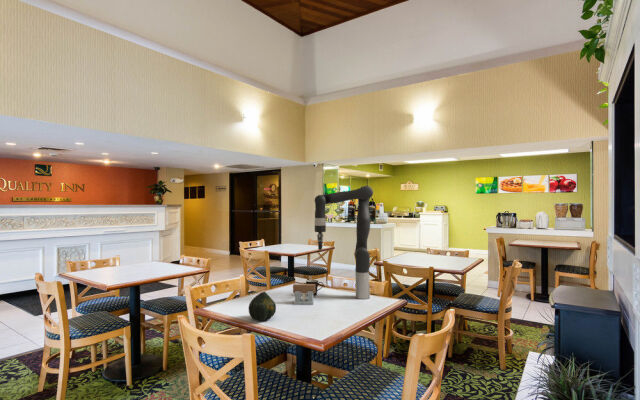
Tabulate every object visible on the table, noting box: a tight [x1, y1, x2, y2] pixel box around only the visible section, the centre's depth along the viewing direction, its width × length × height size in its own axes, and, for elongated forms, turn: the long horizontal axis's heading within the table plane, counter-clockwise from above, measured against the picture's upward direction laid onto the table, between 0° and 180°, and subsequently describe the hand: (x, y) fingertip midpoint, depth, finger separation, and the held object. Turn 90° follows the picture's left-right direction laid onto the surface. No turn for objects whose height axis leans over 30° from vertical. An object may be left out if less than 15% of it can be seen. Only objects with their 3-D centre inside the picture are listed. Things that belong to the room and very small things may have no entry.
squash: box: [248, 291, 277, 322], centre depth 196 cm, size 14×15×15 cm
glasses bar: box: [292, 283, 315, 294], centre depth 228 cm, size 14×3×5 cm, turn 87°
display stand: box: [293, 291, 315, 306], centre depth 228 cm, size 12×10×8 cm
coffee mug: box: [305, 279, 325, 297], centre depth 248 cm, size 12×9×10 cm
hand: (320, 249), depth 238 cm, fingers open, 8 cm apart
